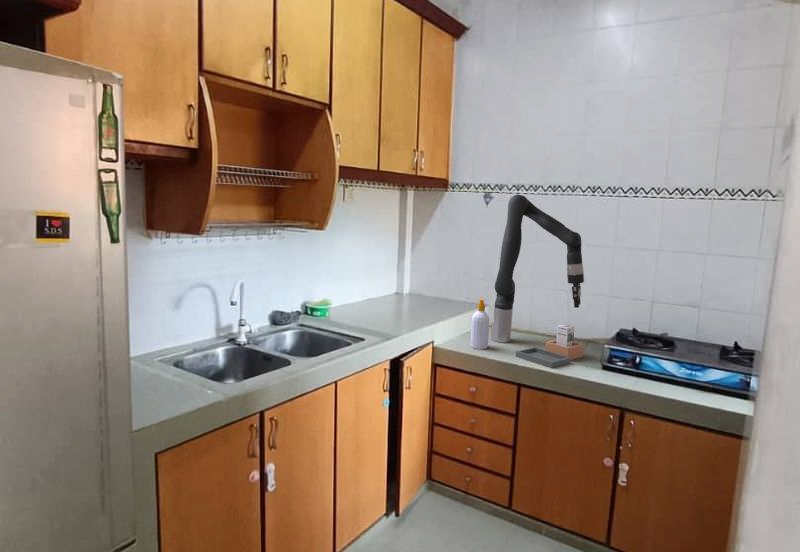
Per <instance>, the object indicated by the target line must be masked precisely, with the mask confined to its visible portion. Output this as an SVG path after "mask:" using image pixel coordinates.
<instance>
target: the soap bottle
mask: <svg viewBox="0 0 800 552" xmlns="http://www.w3.org/2000/svg"><path fill="white" fill-rule="evenodd" d="M478 302H479V303H478V305H477V310H476V311H475V312H474V313H473V314H472V316H471V326H470V342H469V344H470V345H469V346H470V347H471V348H473V349H477V350H485V349H487V348H488V347H489V331H490V316H489V314H488V313H487V312H486V311H485V310H486V305H485V303H484V302H485V299H483V298H482V297H480V299H478Z"/></svg>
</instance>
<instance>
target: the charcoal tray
mask: <svg viewBox="0 0 800 552" xmlns="http://www.w3.org/2000/svg"><path fill="white" fill-rule="evenodd" d="M518 357H519V359H521V358H522V360H524V359H525V361H529V362H531V363H534V364H537V365H540V364H541V365H540V366H544V367H547V368H550V369H554V368H557V366H558V367H560V365H561V366H564V364H565V365H569V364H571V361H572V360H571V357H567V356H564V355H560V354H557V353H554V352H550V351H547V350H545V349H543V348H539V347H537V346H536V347H535V346H533V347H528V348H524V349H520V350H519V349H518V350H516V351H515V358H518ZM568 363H569V364H568Z"/></svg>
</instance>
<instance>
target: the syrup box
mask: <svg viewBox="0 0 800 552" xmlns="http://www.w3.org/2000/svg"><path fill="white" fill-rule="evenodd" d="M556 329H557V330H556V340H557V341H556V344H558V345H562V346H565V347H571V346H573V342H575V341H574V338H575V326H574V325H570V324H560V325H557V328H556Z"/></svg>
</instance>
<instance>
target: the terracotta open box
mask: <svg viewBox="0 0 800 552" xmlns="http://www.w3.org/2000/svg"><path fill="white" fill-rule="evenodd" d="M556 341H557V339H553V340H548V341H546V342H545V349H544V350H547V351H550V352H554V353H557V354H560V355H564V356H567V357H571V361H573V360H575V359H579V358H583V357H584V347H585V344H583V343H580V342H576V341H573V346H571V347H565V346H562V345H558V344H556Z"/></svg>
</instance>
